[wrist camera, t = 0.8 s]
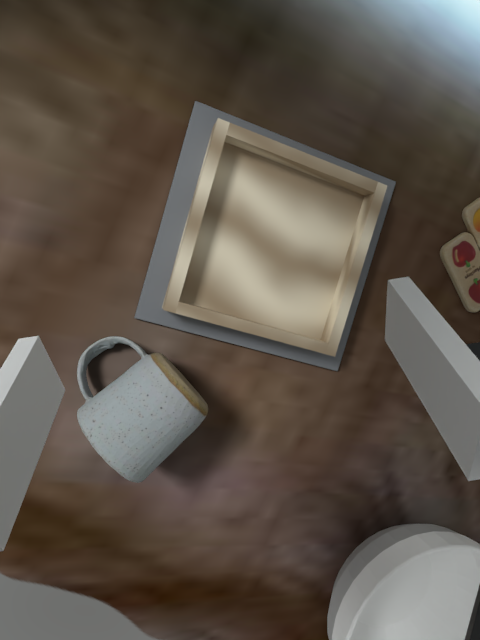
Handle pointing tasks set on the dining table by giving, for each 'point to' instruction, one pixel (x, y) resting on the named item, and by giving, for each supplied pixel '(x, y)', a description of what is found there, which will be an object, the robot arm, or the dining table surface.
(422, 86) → the dining table surface
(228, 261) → the tray
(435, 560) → the bowl
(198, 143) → the mat
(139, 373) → the ceramic mug
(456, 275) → the pile of dominoes
